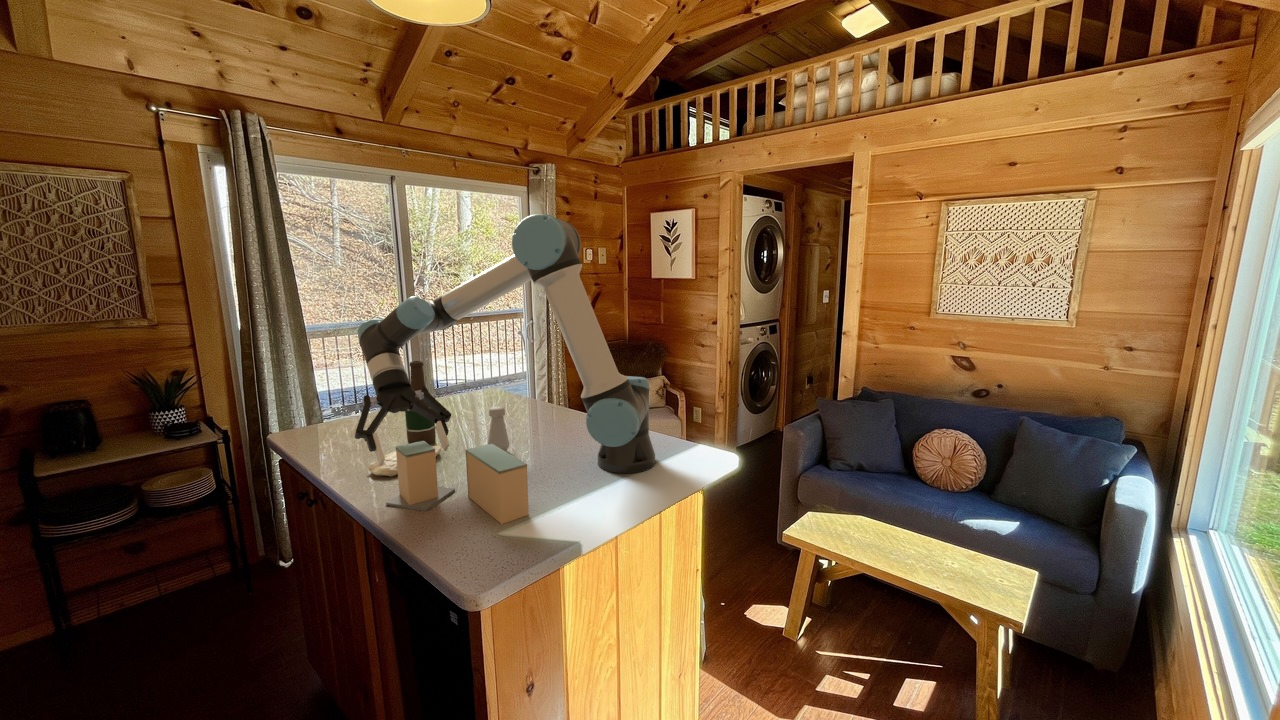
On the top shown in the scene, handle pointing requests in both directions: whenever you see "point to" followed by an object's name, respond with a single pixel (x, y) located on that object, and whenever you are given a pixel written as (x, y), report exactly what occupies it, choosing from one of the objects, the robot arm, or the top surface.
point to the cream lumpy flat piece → (391, 464)
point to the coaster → (423, 505)
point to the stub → (417, 472)
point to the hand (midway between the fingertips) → (415, 455)
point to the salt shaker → (498, 428)
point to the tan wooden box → (497, 482)
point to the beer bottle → (416, 423)
